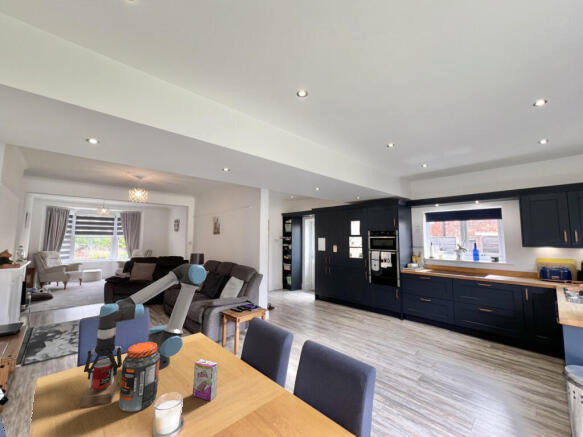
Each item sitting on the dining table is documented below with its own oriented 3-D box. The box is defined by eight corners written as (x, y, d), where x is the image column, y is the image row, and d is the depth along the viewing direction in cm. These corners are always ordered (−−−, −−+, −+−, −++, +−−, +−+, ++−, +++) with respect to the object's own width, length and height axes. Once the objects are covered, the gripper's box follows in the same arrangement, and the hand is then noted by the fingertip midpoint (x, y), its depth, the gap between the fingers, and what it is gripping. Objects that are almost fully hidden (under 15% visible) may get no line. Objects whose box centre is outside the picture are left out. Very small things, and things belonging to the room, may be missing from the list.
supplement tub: (117, 399, 120) (122, 344, 122) (153, 389, 129) (157, 337, 132) (119, 419, 107) (124, 357, 110) (159, 405, 117) (163, 348, 119)
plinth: (118, 388, 129) (119, 380, 129) (111, 402, 118) (111, 393, 118) (90, 392, 125) (91, 384, 125) (80, 407, 113) (81, 398, 114)
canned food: (100, 391, 117) (103, 367, 118) (87, 388, 119) (89, 364, 120) (115, 382, 125) (117, 359, 126) (102, 380, 126) (104, 357, 127)
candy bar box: (191, 396, 124) (194, 362, 126) (198, 391, 129) (200, 358, 130) (210, 402, 120) (212, 367, 122) (216, 396, 125) (218, 362, 127)
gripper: (132, 331, 131) (128, 376, 129) (84, 335, 124) (79, 383, 122) (128, 336, 124) (124, 384, 122) (77, 341, 117) (72, 392, 115)
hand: (101, 384), depth 122 cm, fingers closed on canned food, 8 cm apart
